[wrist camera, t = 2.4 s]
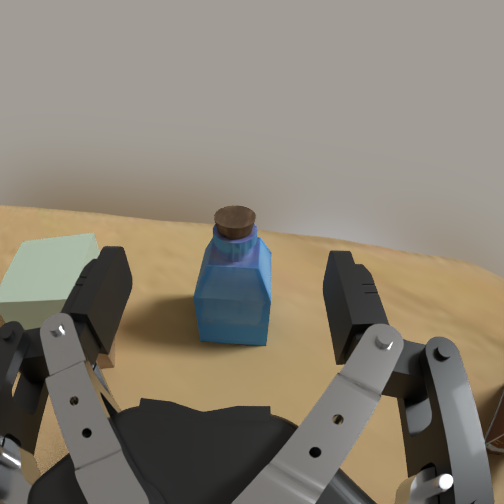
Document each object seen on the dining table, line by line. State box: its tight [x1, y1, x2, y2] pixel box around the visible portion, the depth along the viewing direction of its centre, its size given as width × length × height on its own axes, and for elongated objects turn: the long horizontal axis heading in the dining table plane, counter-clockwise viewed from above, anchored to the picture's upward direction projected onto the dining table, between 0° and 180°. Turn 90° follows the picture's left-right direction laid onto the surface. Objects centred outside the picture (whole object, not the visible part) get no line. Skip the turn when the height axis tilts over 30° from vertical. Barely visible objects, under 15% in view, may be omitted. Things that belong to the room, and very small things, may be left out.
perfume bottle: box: [194, 206, 271, 346], centre depth 28 cm, size 6×6×12 cm
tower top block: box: [0, 233, 100, 330], centre depth 24 cm, size 8×8×5 cm
